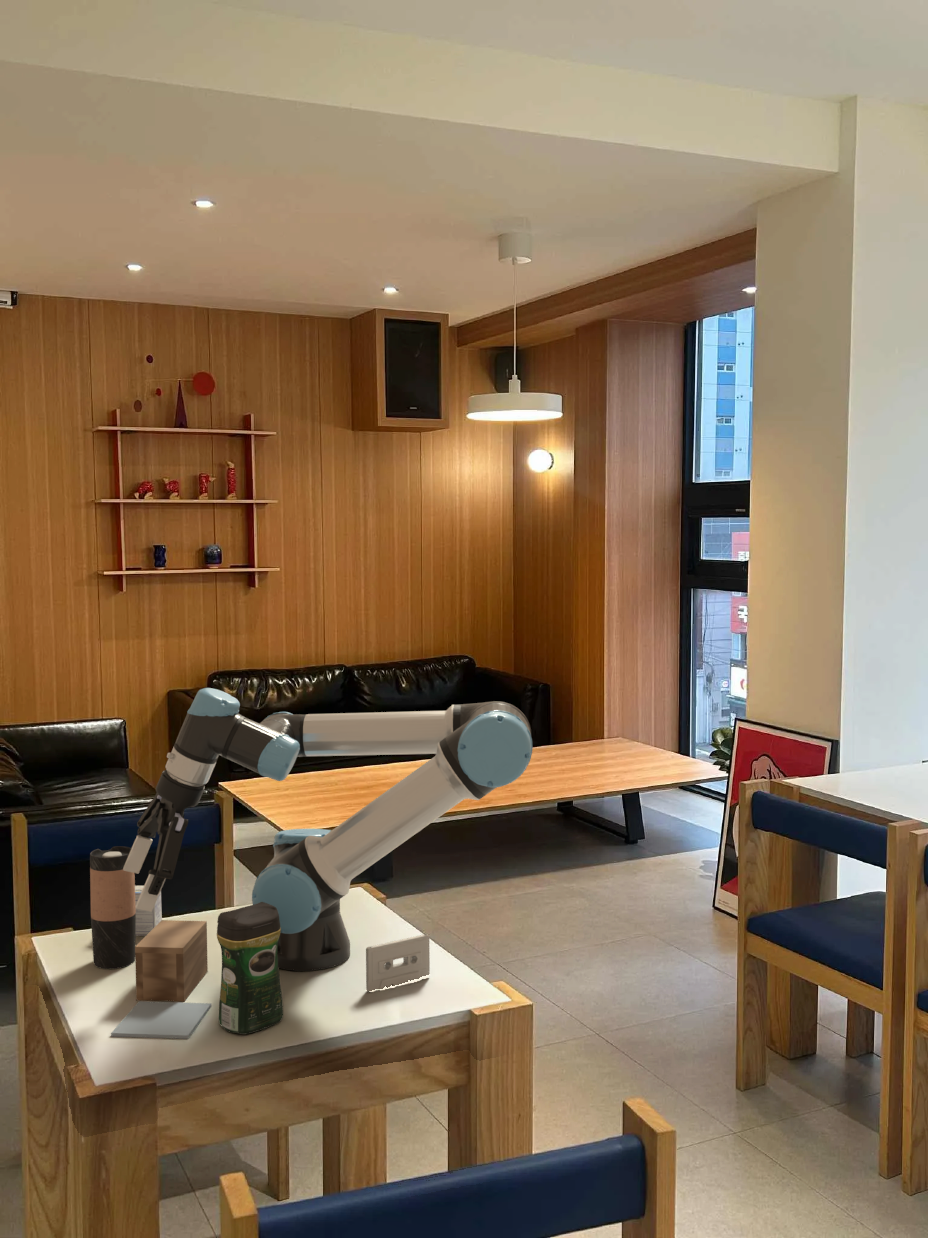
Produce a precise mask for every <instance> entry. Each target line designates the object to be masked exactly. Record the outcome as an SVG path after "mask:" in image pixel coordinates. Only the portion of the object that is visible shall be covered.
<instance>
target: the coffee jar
mask: <svg viewBox="0 0 928 1238" xmlns="http://www.w3.org/2000/svg"><path fill="white" fill-rule="evenodd" d="M216 926H217V927H216V929H217V930H216V939H217V942H218V944H219V947H220V950H221V977H220V992H219V1005H218V1006H219V1007H218V1008H219V1009H218V1022H219V1025H220V1026H221V1027H222V1029H224V1030H225V1031H227V1032H229V1033H231V1034H240V1035H247V1034H251V1033H255V1032H258V1031H261V1030H264V1029H266V1028H269V1027H271V1026H274V1025H276V1024H278V1023H279V1022H281V1021H282V1020H283V1018H284V1005H283V995H282V987H281V981H280V971H279V969H280V968H278V956H277V947H278V940H279V936H280V932H281V926H280V920H279V913H278V910H277V908H276V907H274V906H272V905H270V904H267V903H265V902H260V903H257V904H254V905H253V904H251V905H247V906H244V907H240V908H236V909H233V910H229V911H224V912H223V911H222V912H221V913H219V915H218V916H217V925H216Z"/></svg>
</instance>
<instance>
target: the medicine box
mask: <svg viewBox="0 0 928 1238" xmlns="http://www.w3.org/2000/svg"><path fill="white" fill-rule="evenodd" d="M143 887H144V885H135V905H136V904H137V901H138V899H139V897H140V894H141V892H142V890H143ZM162 914H163V913H162V890H161V891H160V894H159V896H158V898H157V901H156V903H155V905H154V908H153V910H152V912H151V911H146V910H141V909H136V937H145V936H146V935H147V934H148V933H149V932H150V931H151V930H152V929H153V928H154V927H155V926H156V925H157V924H158V923H159V922H160V921H161V920H163V917H162V916H163V915H162Z"/></svg>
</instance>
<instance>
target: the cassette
mask: <svg viewBox="0 0 928 1238" xmlns="http://www.w3.org/2000/svg"><path fill="white" fill-rule="evenodd" d="M430 954H431V953H430V935H428V934H427V933H424V934H421V935H415V936H411V937H406V938H401V939H398V940H394V941H393V940H392V941H390V942H384V943H379V944H375V945H370V946H367V947H366V949H365V971H366V972H365V978H366V979H365V981H366V982H365V986H366V987H365V988H366V990H367V991H372V990H375V989H383V988H384V987H385V986H386V987H387V988H388V987H390V986H391V985H392V986H395V985H399V984H402V983H405V982H408V980H410V981H411V980H414V979H419V978H420V977H422V976H426V975H429V974H431V973H430V969H431V968H430V964H431V963H430V958H431V957H430V956H431V955H430ZM398 959H403V962H398V963H394V961H395V960H398ZM367 991H366V992H367Z"/></svg>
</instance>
